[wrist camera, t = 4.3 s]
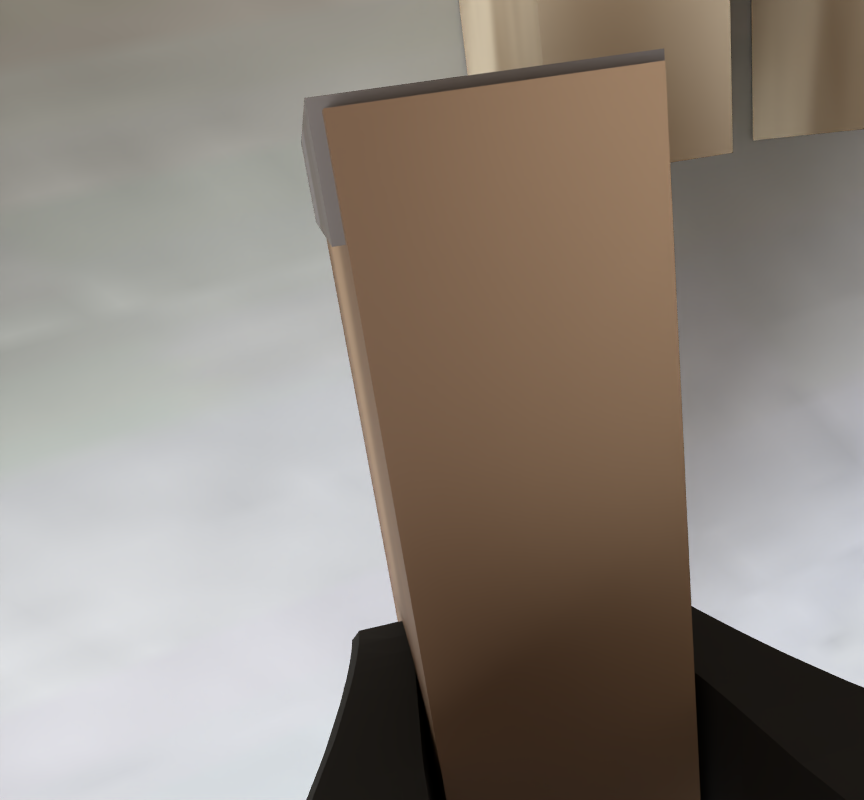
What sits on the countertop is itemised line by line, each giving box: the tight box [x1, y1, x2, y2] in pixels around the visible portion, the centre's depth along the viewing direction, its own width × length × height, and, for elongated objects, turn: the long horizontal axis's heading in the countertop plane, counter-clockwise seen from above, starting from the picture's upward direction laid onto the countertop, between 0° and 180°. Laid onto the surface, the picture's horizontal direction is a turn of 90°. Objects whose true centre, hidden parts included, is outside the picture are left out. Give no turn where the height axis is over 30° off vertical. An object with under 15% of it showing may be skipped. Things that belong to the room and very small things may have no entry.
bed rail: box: [301, 48, 701, 800], centre depth 9 cm, size 3×14×5 cm, turn 8°
